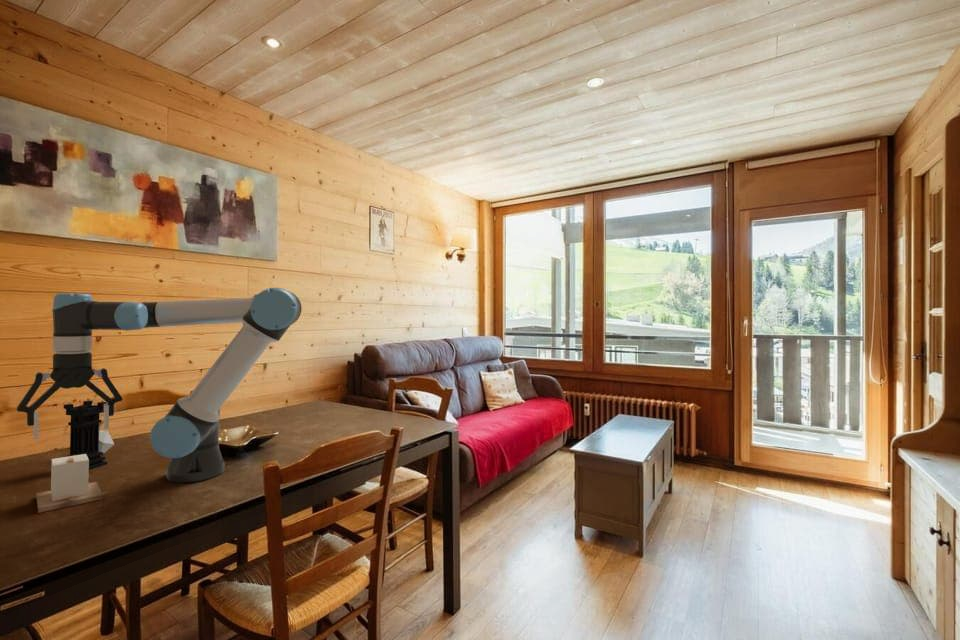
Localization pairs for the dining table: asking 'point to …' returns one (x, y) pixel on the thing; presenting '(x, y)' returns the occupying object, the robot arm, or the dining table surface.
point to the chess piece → (86, 431)
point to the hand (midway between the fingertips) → (72, 433)
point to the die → (105, 441)
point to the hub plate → (67, 499)
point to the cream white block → (69, 476)
